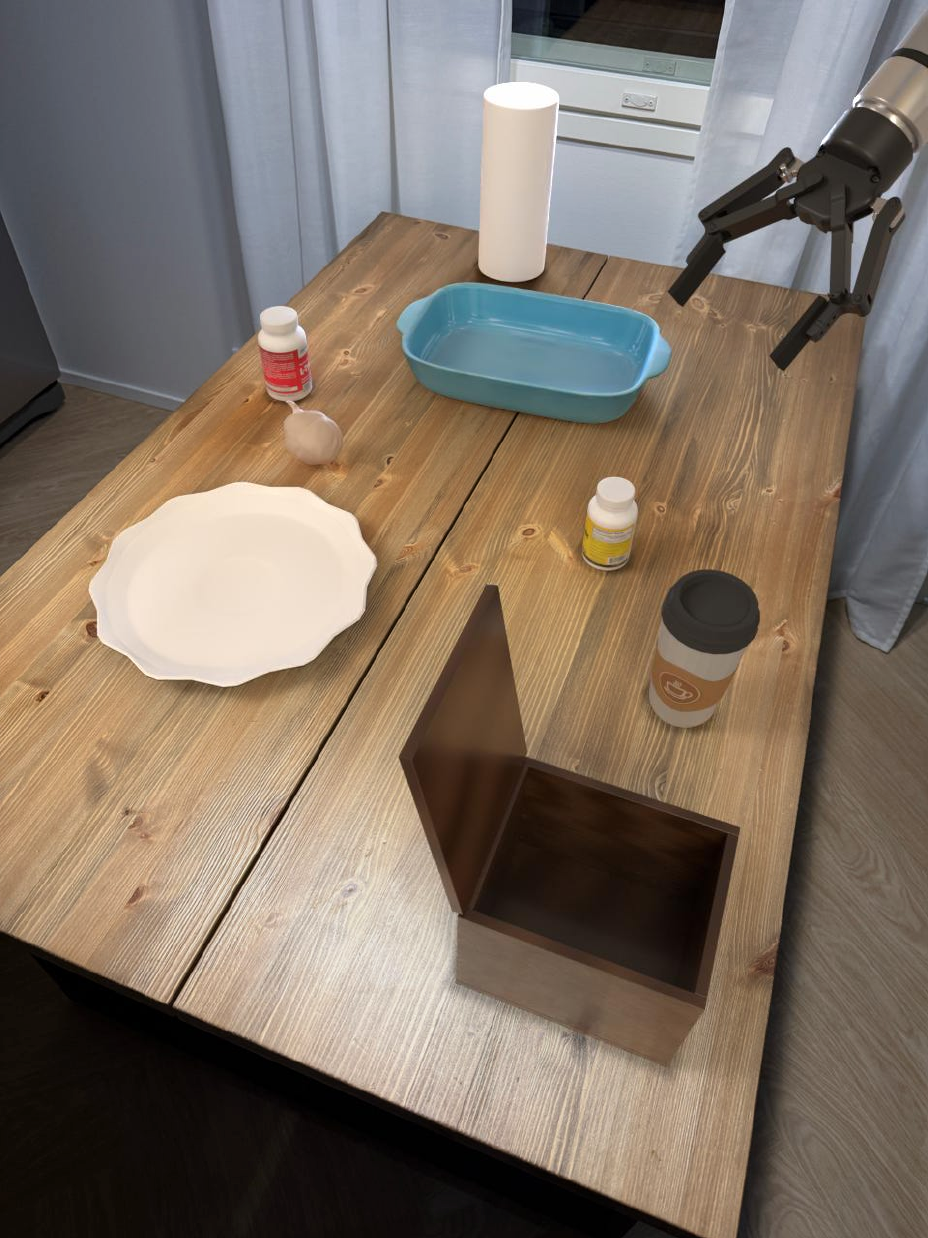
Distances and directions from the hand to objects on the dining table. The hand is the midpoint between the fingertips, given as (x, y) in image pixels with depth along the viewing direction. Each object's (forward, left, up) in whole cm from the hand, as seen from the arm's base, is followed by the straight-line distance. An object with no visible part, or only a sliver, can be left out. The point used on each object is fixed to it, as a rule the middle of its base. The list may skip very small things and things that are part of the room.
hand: (723, 330), depth 86 cm
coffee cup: (-16, +21, -25) cm, 36 cm away
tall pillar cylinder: (+54, -32, -25) cm, 68 cm away
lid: (-15, +50, -3) cm, 52 cm away
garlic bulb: (+38, +22, -25) cm, 51 cm away
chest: (-24, +46, -25) cm, 58 cm away
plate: (+27, +42, -25) cm, 56 cm away
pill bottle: (+52, +15, -25) cm, 60 cm away
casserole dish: (+31, -10, -25) cm, 41 cm away
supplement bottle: (+2, +10, -25) cm, 27 cm away
